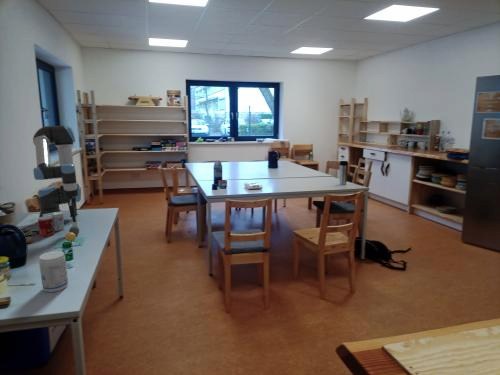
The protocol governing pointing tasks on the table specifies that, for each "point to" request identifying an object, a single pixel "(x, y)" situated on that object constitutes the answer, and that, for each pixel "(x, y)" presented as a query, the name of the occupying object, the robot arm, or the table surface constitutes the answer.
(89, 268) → the table surface
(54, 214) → the light bulb box
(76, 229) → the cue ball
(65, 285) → the supplement tub
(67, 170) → the robot arm
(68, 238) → the orange ball
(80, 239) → the teal mark
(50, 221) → the canned food
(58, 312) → the table surface
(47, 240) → the table surface
